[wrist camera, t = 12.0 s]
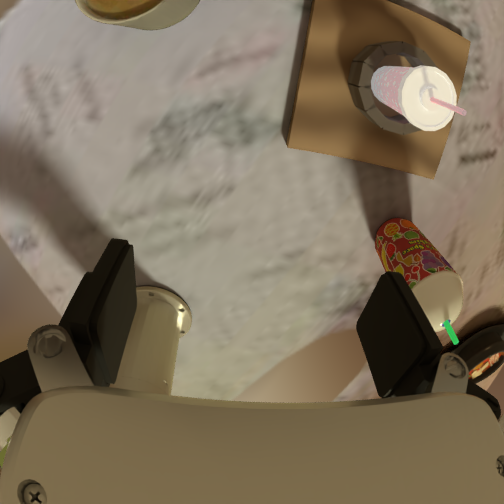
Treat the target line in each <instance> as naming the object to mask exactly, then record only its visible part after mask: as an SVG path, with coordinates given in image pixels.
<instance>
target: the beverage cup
mask: <svg viewBox="0 0 504 504" xmlns="http://www.w3.org/2000/svg"><path fill="white" fill-rule="evenodd" d="M371 89H372V91H373V93H374V96H375V97H376V98H377V99H378V100H379V101H381V102H382V103H384V104H386V105H387V106H389V107H391V108H392V109H394V110H395V111H397V112H398V113H400V114H402V115H403V116H405V117H406V119H407V120H408V121H409V122H410V123H411V124H413V125H414V126H416V127H418V128H420V129H422V130H424V131H436V130H439V129H441V128H443V127H445V126H446V125H447V124H448V123H449V121H450V120H451V119H452V117H453V115H454V112H457V113H459V114H461V115H464V116H465V115H466V110H464V109H462V108H459V107H457V106H456V99H457V95H456V92H455V88H454V85H453V83H452V81H451V80H450V79H449V77H448V76H447V74H446V73H444V72H443V71H441V70H439V69H438V68H436V67H431V66H421V65H420V66H417V67H398V66H383V67H381V68H378V69H377V70H376V71H375V73H374V74H373V76H372V79H371Z"/></svg>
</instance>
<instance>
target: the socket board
mask: <svg viewBox="0 0 504 504" xmlns="http://www.w3.org/2000/svg"><path fill="white" fill-rule="evenodd" d="M469 48H470V41H468V40H467V39H465V38H463V37H462V36H460V35H458V34H457V33H455V32H453V31H451V30H449V29H447V28H446V27H444V26H442V25H440V24H438V23H436V22H434V21H432V20H430V19H428V18H426V17H424V16H422V15H420V14H418V13H415V12H413V11H411V10H409V9H406V8H404V7H402V6H399V5H397V4H394V3H392V2H389V1H387V0H312V6H311V12H310V18H309V23H308V29H307V34H306V40H305V46H304V51H303V57H302V62H301V68H300V73H299V78H298V84H297V89H296V95H295V100H294V105H293V111H292V116H291V121H290V126H289V132H288V137H287V142H286V145H287V147H288V148H293V149H299V150H305V151H311V152H317V153H322V154H328V155H333V156H338V157H343V158H348V159H353V160H357V161H362V162H367V163H371V164H375V165H380V166H384V167H388V168H392V169H396V170H400V171H404V172H408V173H412V174H415V175H419V176H423V177H426V178H430V179H434V177H435V174H436V171H437V168H438V165H439V162H440V159H441V156H442V153H443V150H444V147H445V144H446V141H447V138H448V135H449V131H450V128H451V124H452V121H453V117H454V115H453V117H452V119H451V120H450V121H449V123H448V124H447V125H446V126H445V127H443V128H441V129H439V130H436V131H424V130H422V129H420V128H418V127H416V126H414V125H413V124H411V123H410V122H409V121H408V120H407V119H406V117H405V116H403V115H402V114H400V113H398V112H397V111H395V110H394V109H392V108H391V107H389V106H387V105H386V104H384V103H382V102H381V101H379V100H378V99H377V98H376V97H375V96H374V93H373V91H372V89H371V79H372V76H373V74H374V73H375V71H376V70H377V69H378V68H381V67H383V66H398V67H417V66H420V65H421V66H431V67H436V68H438V69H439V70H441V71H443V72H444V73H446V74H447V76H448V77H449V79H450V80H451V81H452V83H453V85H454V88H455V92H456V95H457V99H456V106H457V103H458V99H459V95H460V91H461V86H462V82H463V78H464V73H465V68H466V64H467V59H468V53H469ZM454 114H455V112H454Z"/></svg>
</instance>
